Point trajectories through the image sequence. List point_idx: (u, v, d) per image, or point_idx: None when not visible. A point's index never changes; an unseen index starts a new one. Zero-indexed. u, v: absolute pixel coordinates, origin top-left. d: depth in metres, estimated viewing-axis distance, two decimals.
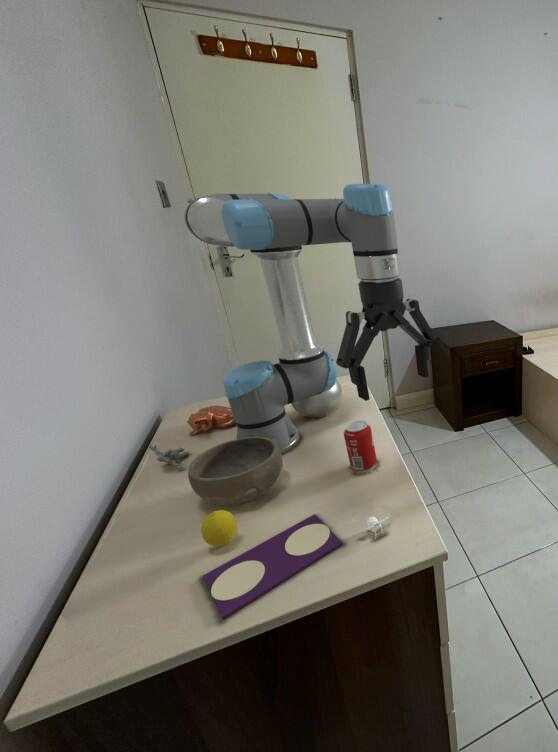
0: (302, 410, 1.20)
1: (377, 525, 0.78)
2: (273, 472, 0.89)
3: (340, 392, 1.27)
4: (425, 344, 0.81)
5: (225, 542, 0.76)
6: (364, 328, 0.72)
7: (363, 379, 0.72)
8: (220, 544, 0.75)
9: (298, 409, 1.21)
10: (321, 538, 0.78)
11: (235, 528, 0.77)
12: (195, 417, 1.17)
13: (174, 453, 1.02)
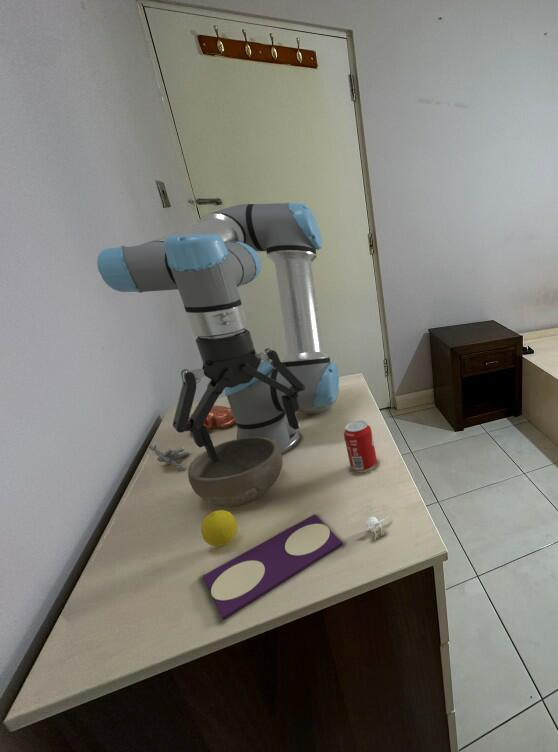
0: None
1: (377, 525, 0.78)
2: (273, 472, 0.89)
3: None
4: (291, 395, 0.75)
5: (225, 542, 0.76)
6: (208, 385, 0.67)
7: (207, 441, 0.66)
8: (220, 544, 0.75)
9: None
10: (321, 538, 0.78)
11: (235, 528, 0.77)
12: None
13: (174, 453, 1.02)
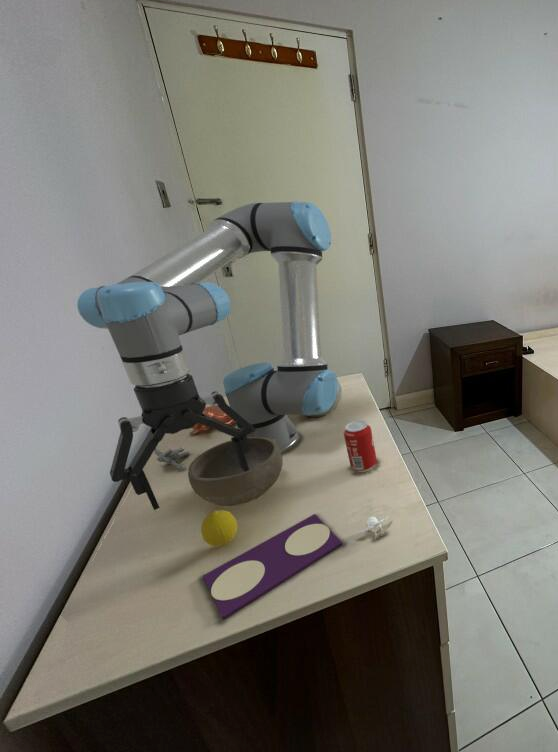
0: None
1: (377, 525, 0.78)
2: (273, 472, 0.89)
3: (339, 392, 1.27)
4: (239, 438, 0.74)
5: (225, 542, 0.76)
6: (149, 431, 0.66)
7: (146, 488, 0.65)
8: (220, 544, 0.75)
9: None
10: (321, 538, 0.78)
11: (235, 528, 0.77)
12: None
13: (174, 453, 1.02)
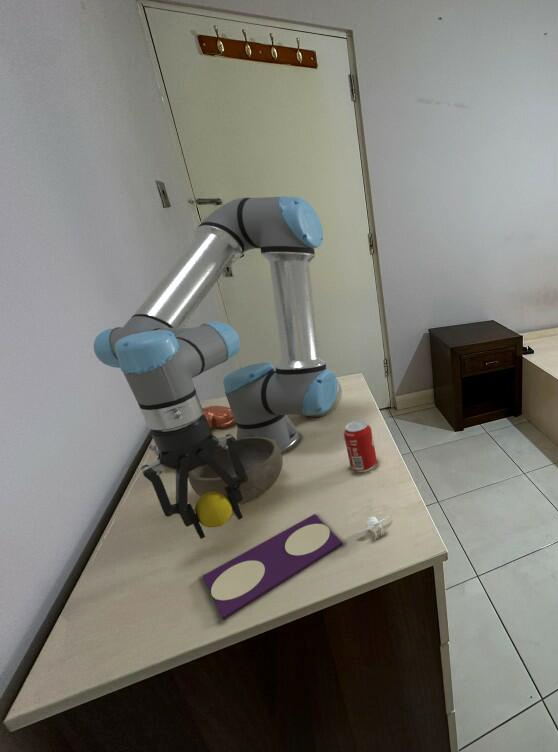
0: None
1: (377, 525, 0.78)
2: (273, 472, 0.89)
3: (339, 392, 1.27)
4: (232, 487, 0.76)
5: (220, 523, 0.75)
6: (176, 471, 0.70)
7: (194, 520, 0.72)
8: (215, 525, 0.74)
9: None
10: (321, 538, 0.78)
11: (230, 509, 0.76)
12: None
13: None
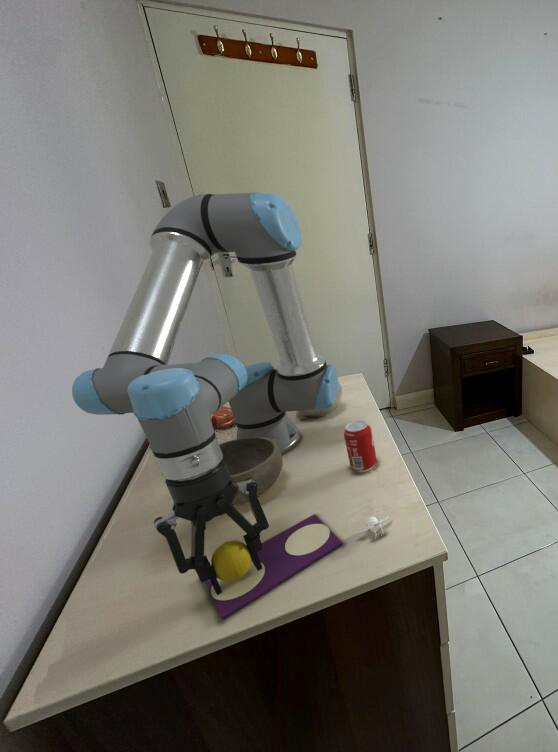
0: None
1: (377, 525, 0.78)
2: (273, 472, 0.89)
3: (339, 392, 1.27)
4: (252, 536, 0.69)
5: (238, 577, 0.67)
6: (191, 522, 0.63)
7: (211, 575, 0.65)
8: (233, 579, 0.67)
9: None
10: (321, 538, 0.78)
11: (249, 560, 0.69)
12: None
13: None
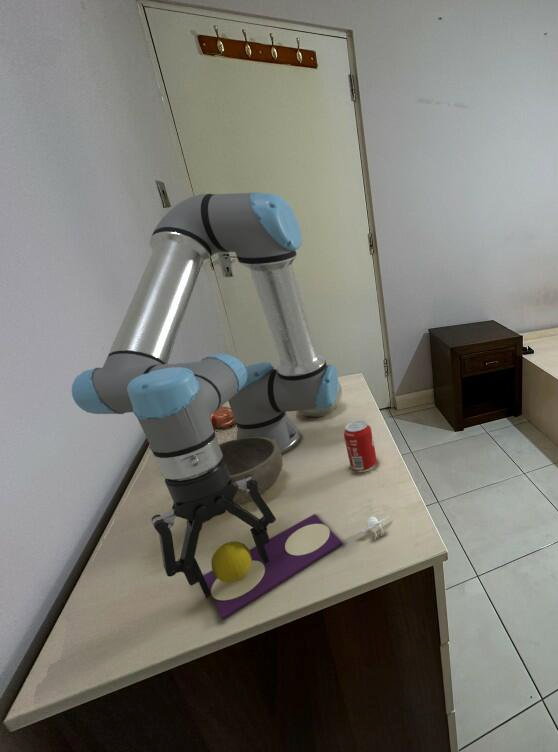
0: None
1: (377, 525, 0.78)
2: (273, 472, 0.89)
3: (339, 392, 1.27)
4: (259, 530, 0.69)
5: (238, 578, 0.68)
6: (187, 521, 0.63)
7: (199, 578, 0.64)
8: (233, 580, 0.67)
9: None
10: (321, 538, 0.78)
11: (249, 561, 0.69)
12: None
13: None
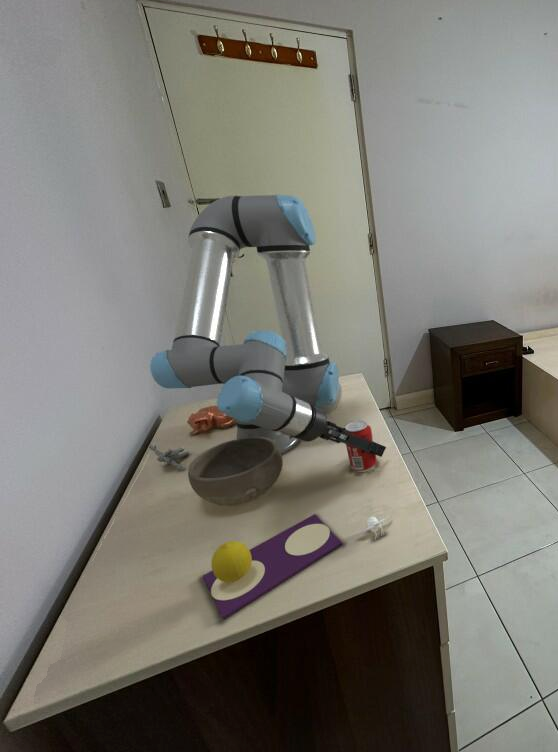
0: None
1: (377, 525, 0.78)
2: (273, 472, 0.89)
3: (339, 392, 1.27)
4: None
5: (238, 578, 0.68)
6: None
7: None
8: (233, 580, 0.67)
9: None
10: (321, 538, 0.78)
11: (249, 561, 0.69)
12: (195, 417, 1.17)
13: (174, 453, 1.02)
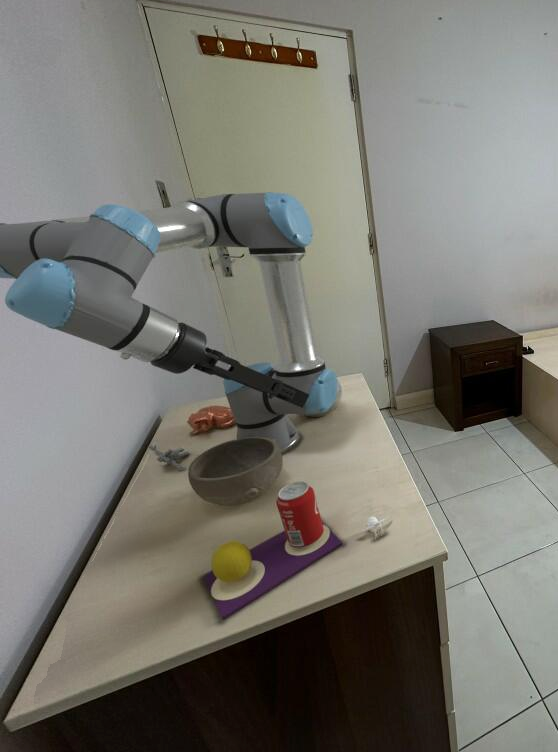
0: None
1: (377, 525, 0.78)
2: (273, 472, 0.89)
3: (339, 392, 1.27)
4: None
5: (238, 578, 0.68)
6: None
7: (241, 384, 0.77)
8: (233, 580, 0.67)
9: None
10: (321, 538, 0.78)
11: (249, 561, 0.69)
12: (195, 417, 1.17)
13: (174, 453, 1.02)
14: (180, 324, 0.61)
